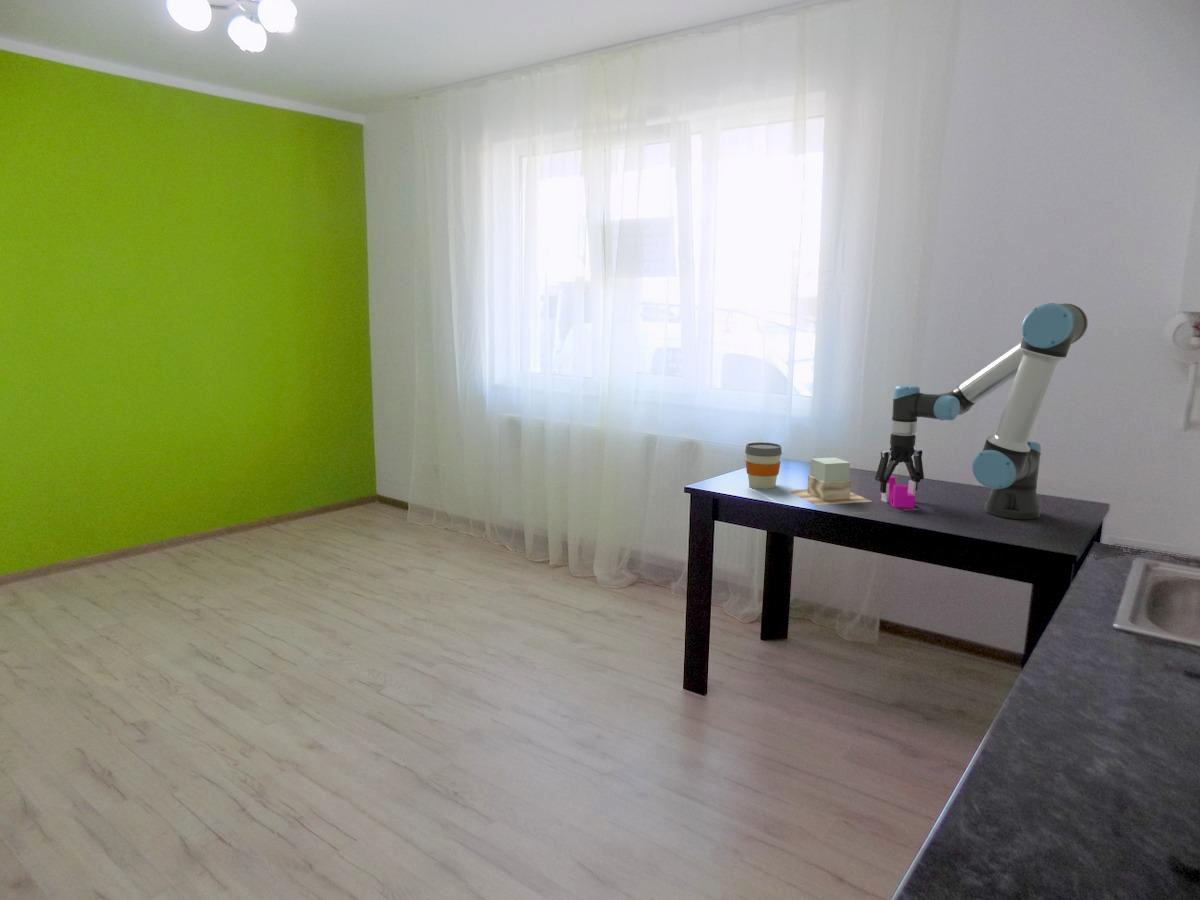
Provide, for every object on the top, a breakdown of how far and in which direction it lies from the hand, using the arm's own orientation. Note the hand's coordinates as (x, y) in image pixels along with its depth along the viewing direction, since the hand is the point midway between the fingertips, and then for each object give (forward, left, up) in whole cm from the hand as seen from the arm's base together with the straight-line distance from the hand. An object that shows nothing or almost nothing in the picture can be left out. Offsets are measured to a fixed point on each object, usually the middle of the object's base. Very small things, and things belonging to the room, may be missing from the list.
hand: (897, 501), depth 246 cm
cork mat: (+11, +19, 0) cm, 22 cm away
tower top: (+11, +19, +6) cm, 23 cm away
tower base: (+11, +19, 0) cm, 22 cm away
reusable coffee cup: (+30, +34, 0) cm, 45 cm away
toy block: (-1, +1, -1) cm, 2 cm away
